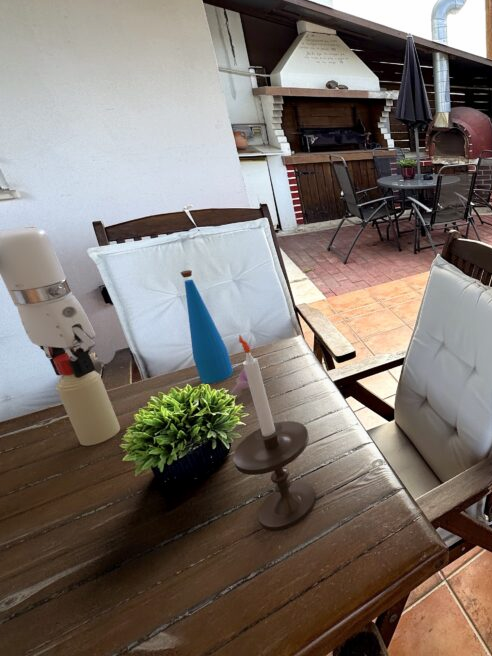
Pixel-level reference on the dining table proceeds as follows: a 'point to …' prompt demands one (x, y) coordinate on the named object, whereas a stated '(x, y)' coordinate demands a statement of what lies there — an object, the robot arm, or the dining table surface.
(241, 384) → the lily
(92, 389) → the sauce bottle
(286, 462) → the candlestick
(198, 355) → the bottle
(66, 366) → the cap
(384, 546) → the dining table surface
